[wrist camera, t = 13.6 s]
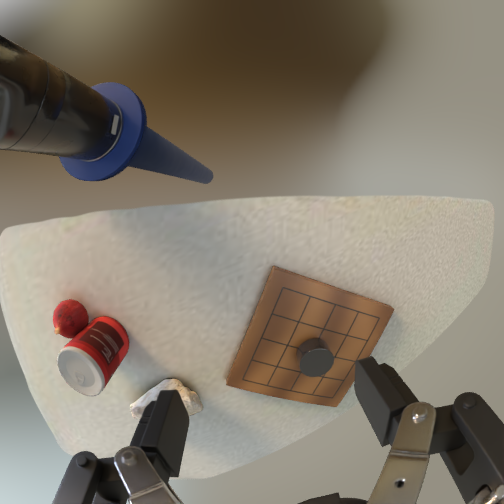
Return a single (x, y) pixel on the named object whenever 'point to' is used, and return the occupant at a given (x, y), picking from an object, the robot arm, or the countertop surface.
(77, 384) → the canned food
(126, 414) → the countertop surface
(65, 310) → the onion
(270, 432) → the countertop surface
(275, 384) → the grid board
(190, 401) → the stone
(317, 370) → the black stone
